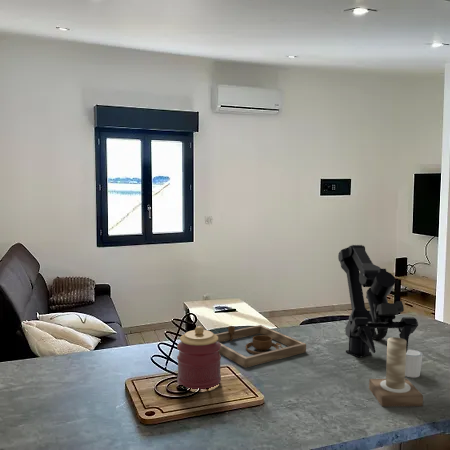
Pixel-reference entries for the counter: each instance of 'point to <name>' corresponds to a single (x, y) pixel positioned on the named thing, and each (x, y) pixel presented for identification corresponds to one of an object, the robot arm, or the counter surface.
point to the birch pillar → (396, 363)
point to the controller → (380, 333)
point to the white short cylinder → (413, 363)
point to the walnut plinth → (395, 394)
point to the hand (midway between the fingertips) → (390, 352)
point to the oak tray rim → (293, 349)
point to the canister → (199, 359)
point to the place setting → (257, 342)
